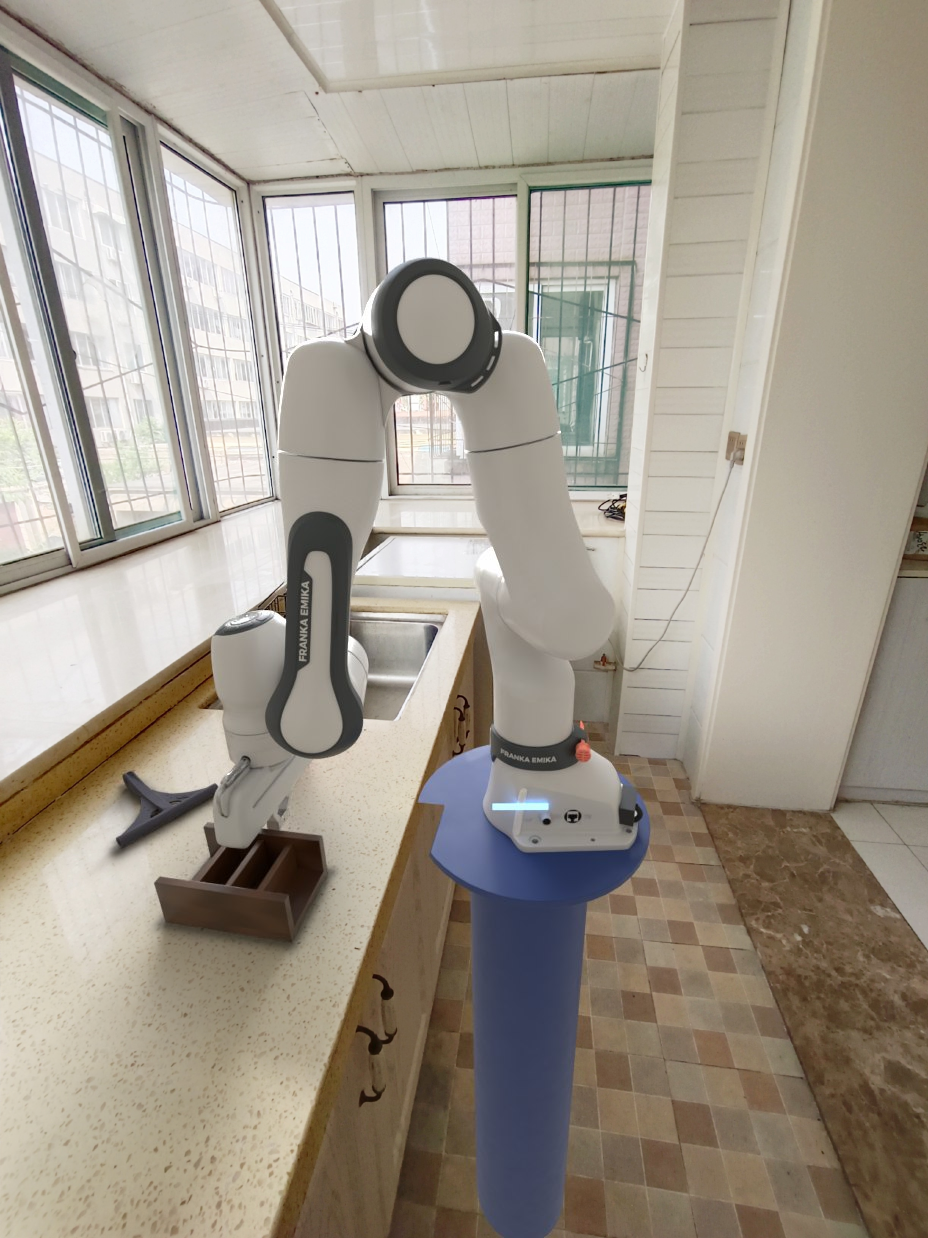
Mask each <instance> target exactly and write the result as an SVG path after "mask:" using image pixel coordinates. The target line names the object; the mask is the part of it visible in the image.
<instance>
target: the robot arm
mask: <svg viewBox="0 0 928 1238" xmlns="http://www.w3.org/2000/svg"><path fill="white" fill-rule="evenodd" d="M381 280H382V281H380V283H379V285H378V286H377V287H376V289H374V291H373V293H372V294H371V295H370V298H369V300H368V302H367V304H366V307H365V310H364V313H363V316H362V317H361V320H360V321H359V324H358V326H357V327H356V329H355V331H354V333H353V334H352V336H350V337H346V338H342V339H341V338H336V337H320V338H319V337H318V338H313V339H309V340H307V341H304V342H302V343H300V344H298V345H297V346H296V347H295V348H293V350H292V351H291V352H290V354H289V355H288V358H287V360H286V363H285V368H284V374H283V378H282V386H281V392H280V399H279V409H278V425H277V472H278V474H277V475H278V485H279V487H278V488H279V499H280V506H281V515H282V523H283V524H282V525H283V536H284V546H285V548H284V549H285V558H286V597H285V598H286V600H285V618H284V617H283V616H282V615H281V614H279V613H278V612H276V611H273V610H269V609H268V610H265V609H259V610H253V611H248V612H244V613H241V614H238V615H236V616H234V617H232V618H229V619H228V620H226V621H225V622H224V623H222V625H221V626H219V627H218V629H217V630H216V631H215V632H214V633H213V635H212V637H211V641H210V656H211V657H210V658H211V667H212V668H211V669H212V676H213V682H214V689H215V692H216V695H217V698H218V700H219V701H220V703H221V705H222V709H223V711H222V719H221V720H222V721H221V722H222V727H223V728H222V729H223V733H224V738H225V741H226V747H227V753H228V757H229V760H230V761H231V762H232V763H233V764H234V765H233V767H232V768H231V769H230V771H229V772H228V773H226V774H225V775H224V776H223V777H222V779H221V780H220V783H219V786H218V789H217V790H216V792H215V795H214V796H213V800H212V814H213V823H214V827H215V834H216V840H217V842H218V844H220V845H222V846H225V847H230V848H240V849H245V848H247V847H248V846H249V845H250V844H251V843H252V841H253V840H254V839H255V837H256V836H257V834H258V833H259V832H260V830H261V829H262V828H264V827H265V825H266V827H267V828H266V829H272V830H280V831H281V829H282V828H283V826H284V825H285V824H286V822H287V821H288V819H289V818H290V816H291V813H290V803H291V798H292V794H293V790H292V789H293V787H294V786H295V785H296V784H297V782H298V780H299V779H300V778H301V777H302V776H303V774H304V773H305V771H306V770H307V769H308V767H309V766H310V764H311V763H312V762H313V760H321V759H322V760H323V759H328V758H331V757H332V758H333V757H335V756H338V755H340V754H342V753H344V752H346V751H348V750H349V749H350V748H352V747H353V746H354V744H356V742H357V741H358V740H359V738H360V736H361V734H362V732H363V728H364V712H365V711H364V704H365V698H366V691H367V685H368V679H369V678H368V677H369V670H370V659H369V656H368V653H367V651H366V649H365V647H364V645H363V644H362V643H361V642H360V641H359V640H358V639H356V638H355V637H354V636H352V635H351V634H350V626H351V625H350V623H351V606H352V605H351V604H352V594H353V593H352V592H353V586H354V581H355V578H356V573H357V571H358V570H357V569H358V567H359V563H360V561H361V558H362V555H363V552H364V550H365V547H366V545H367V542H368V540H369V537H370V535H371V532H372V529H373V527H374V524H375V520H376V517H377V513H378V510H379V506H380V501H381V494H382V488H383V482H384V473H385V459H386V431H387V425H388V421H389V416H390V413H391V410H392V408H393V407H394V405H395V404H396V402H397V401H398V400H399V399H400V398H403V397H409V396H410V397H411V396H414V395H416V396H421V395H422V396H423V395H428V394H429V395H430V394H433V393H435V392H439V393H441V394H442V395H443V396H444V397H445V398H447V399H448V401H449V403H450V404H451V405H452V407H453V409H454V412H455V413H456V416H457V419H458V422H460V423H459V424H460V430H461V437H462V442H463V443H462V444H463V448H464V454H465V459H466V465H467V470H468V475H469V480H470V485H471V490H472V494H473V500H474V505H475V509H476V510H475V511H476V515H477V518H478V520H479V522H480V525H481V526H482V528H483V529H484V531H485V534H486V536H487V538H488V540H489V543H490V545H491V546H490V547H489V548H487V549H486V550H485V551H484V552H483V553H481V555H480V556H479V558H478V559H477V562H476V563H475V566H474V570H473V584H474V587H475V590H476V593H477V596H478V599H479V603H480V607H481V608H480V609H481V613H482V618H483V624H484V632H485V637H486V642H487V647H488V652H489V657H490V663H491V670H492V678H493V679H492V683H493V684H492V685H493V718H492V719H491V720H492V721H491V725H490V729H489V745H490V753H491V760H492V768H491V774H490V779H489V784H488V788H487V791H486V794H485V796H484V800H483V810H484V813H485V815H486V817H487V819H488V820H489V821H490V823H491V824H492V825H493V826H494V827H496V828H497V829H498V830H500V831H501V832H503V833H504V834H506V835H507V836H509V837H510V838H511V840H512V841H513V843H514V844H515V845H516V847H517V848H518V849H519V850H521V851H522V852H526V853H535V852H570V851H605V850H626V849H629V848H630V847H631V846H632V845H633V843H634V841H635V839H636V836H637V831H638V821H640V820H641V819H642V817H643V811H642V809H641V808H640V807H639V805H638V804H636V797H637V792H638V787H637V786H634V785H632V786H628V785H623V784H621V783H620V780H619V777H618V774H617V772H616V771H617V770H616V768H615V766H614V765H613V763H612V762H611V761H610V760H608V758H606V757H604V756H603V755H601V754H600V753H598V752H597V751H595V750H593V749H592V748H591V746H590V745H589V743H588V742H587V741H588V739H587V737H588V736H587V731H586V730H585V726H584V722H583V721H582V720H580V723H579V725H578V724H577V723H576V722H575V721H574V710H575V709H574V707H575V690H576V678H575V672H574V669H573V667H572V664H571V663H570V661H580V660H583V659H585V658H588V657H590V656H592V655H594V654H595V653H597V652H598V651H599V650H600V649H601V648H602V647H603V646H604V645H605V644H606V642H607V641H608V640H609V638H610V636H611V634H612V632H613V630H614V627H615V623H616V619H617V618H616V617H617V610H616V603H615V600H614V598H613V596H612V594H611V593H610V592H609V590H608V588H607V587H606V586H605V584H604V583H603V581H602V580H601V578H600V576H599V574H598V573H597V571H596V569H595V567H594V564H593V562H592V559H591V557H590V554H589V551H588V549H587V546H586V543H585V540H584V537H583V535H582V532H581V529H580V526H579V524H578V520H577V518H576V516H575V511H574V508H573V505H572V501H571V496H570V491H569V485H568V478H567V477H568V476H567V471H566V463H565V456H564V449H563V442H562V441H563V440H562V432H561V425H560V418H559V417H560V416H559V412H558V407H557V402H556V397H555V393H554V388H553V384H552V380H551V376H550V372H549V370H548V366H547V364H546V359H545V357H544V353H543V352H542V349H541V347H540V346H539V344H538V343H537V342H536V340H535V339H533V338H532V337H531V336H529V335H527V334H524V333H522V332H518V331H512V330H503V328H502V325H501V324H500V322H499V321H498V320H497V319H496V316H494V314H493V312H492V311H491V310H490V309H489V307H488V305H487V304H486V301H485V300H484V298H483V296H482V294H481V293H480V290H479V289H478V287H477V286H476V285H475V283H474V282H473V280H472V279H471V278H470V277H469V276H468V275H467V273H465V272H464V271H463V270H462V269H461V268H460V267H458V265H455V264H454V263H452V262H450V261H447V260H446V259H441V258H437V257H430V256H427V257H426V256H424V257H417V258H412V259H410V260H406V261H403V262H402V263H400V264H398V265H397V266H395V267H394V268H392V269H391V270H390V271H389V272H388V273H387V274H386V275H385V276H384V278H383V279H381ZM535 843H536V844H535Z"/></svg>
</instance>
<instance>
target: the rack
mask: <svg viewBox="0 0 928 1238" xmlns="http://www.w3.org/2000/svg"><path fill="white" fill-rule="evenodd" d="M203 833H204V836H205V840H206V841H205V842H206V844H207V845H206V846H207V849H208V853H209V857H208V859H207V860H206V861H205V862H204V863H203V864H202V866H201V867H200V868H199V870H198V871H197V872H196V873H195V875H194V876H193V877H192V878H191V879H190V880H189V879H182V878H175V877H170V876H169V877H168V876H161V875H160V876H158V878H157V879H156V880H155V881H154V882H153V885H154V888H155V892H156V895H157V898H158V902H159V905H160V909H161V912H162V916H163V919H164V922H165V923H167V924H174V925H180V926H187V927H194V928H200V929H206V930H212V931H218V932H224V933H231V934H237V935H243V936H249V937H256V938H264V939H269V940H275V941H281V942H289V943H293V940H294V938H295V936H296V935H297V933H298V931H299V929H300V927H301V926H302V923H303V921H304V920H305V917H306V916H307V914H308V912H309V910H310V908H311V906H312V904H313V903H314V900H315V899H316V896H317V894H318V892H319V890H320V889H321V887H322V885H323V883H324V881H325V879H326V877H327V876H328V873H329V872H328V871H329V870H328V865H327V858H326V851H325V850H326V849H325V843H324V837H323V835H321V834H313V833H304V832H297V831H290V830H289V831H287V830H281V829H280V830H272V829H268V828H264V827H263V828H262V829H261V830H260V832H259V833H258V834H257V836H256V837H255V839H254V840H253V841H252V843H251V844H250V845H249V846H248V847H247V848H245V849H240V848H230V847H225V846H222V845H220V844H218V842H217V840H216V834H215V827H214V821H213V822H211V821H207V822H206V823H205V824H204V825H203Z"/></svg>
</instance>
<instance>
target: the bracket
mask: <svg viewBox="0 0 928 1238" xmlns="http://www.w3.org/2000/svg"><path fill="white" fill-rule="evenodd" d="M122 782H123V783H124V786H126V787H127V789H128V790H130V791H131V792H132V793H133V794H134V795H136V796H137V797H138V798H139V799H140V804H141V805H140V810H139V813H138V815H136V818H135V820H133V822H132V823H131V824H130V826H129V827H128V828H127V829H126V830H125V831H123V832H122V833H121V834H120V835H118V836H116V837H115V839H116V840H115V841H116V843H117V845H118V847H119V848H120V849H123V848H124V847H127V846H129V844H131V843H133V842H135V841H137V840H139V839H140V838H142V837H144V836H145V835H147V834H149V833H151V832H152V831H154V830H156V829H158V828H159V827H161V826H162V825H165V824H166V823H168V822H170V821H172V820H174V819H175V818H177V817H178V816H180V815H182V814H184V813H186V812H187V811H189V810H191V809H193V808H194V807H196V806H198V805H200V804H201V803H203V802H205V801H206V800H208V799H210V798H212V797H214V795H215V792H216V790H217V789H218V787H219V786H218V784H217V783H216V782H214V783H212V784H210V785H208V786H207V787H203V788H200V789H196V790H190V791H184V792H173V793H172V792H164V791H158V790H155V789H151V788H150V787H149V786H147V784H146V783H145V782H144V781H143V780H142V779H141V778H140V777H139V776H138V775H137V773H135V771H134V770H133V769H132V770H129V771H127V772H125V773H123V774H122ZM173 803H174V804H173ZM156 812H157V813H158V814H156V815H154V814H155V813H156ZM153 815H154V816H153ZM152 816H153V817H152Z"/></svg>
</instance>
